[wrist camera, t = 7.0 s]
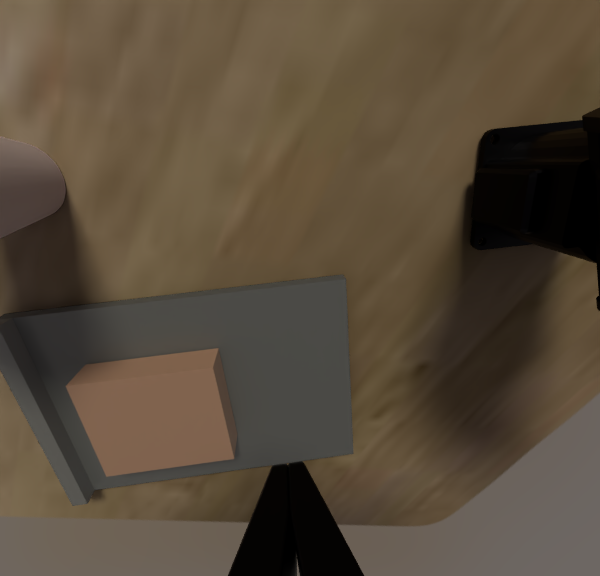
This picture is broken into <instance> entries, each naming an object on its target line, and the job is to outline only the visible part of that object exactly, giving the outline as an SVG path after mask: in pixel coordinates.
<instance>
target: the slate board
mask: <svg viewBox="0 0 600 576" xmlns="http://www.w3.org/2000/svg"><path fill="white" fill-rule="evenodd" d="M215 348H219V353H220V357H221V362H222V366H223V371H224V375H225V380H226V384H227V389H228V394H229V398H230V403H231V407H232V412H233V416H234V421H235V425H236V430H237V441H236V449H235V457H234V459H230V460H223V461H216V462H208V463H201V464H194V465H187V466H180V467H173V468H165V469H158V470H151V471H144V472H137V473H130V474H122V475H115V476H108V477H106V475H105V473H104V470H103V468H102V466H101V464H100V461H99V459H98V457H97V455H96V453H95V450H94V448H93V446H92V444H91V441H90V439H89V437H88V435H87V433H86V430H85V428H84V426H83V424H82V422H81V419H80V417H79V415H78V413H77V410H76V408H75V406H74V404H73V402H72V399H71V397H70V395H69V393H68V391H67V388H66V385H67V384H68V383H69V382H70V381H71V380H72V379H73V378H74V376H75V375H76V374H77V373H78V372H79V371H80V370H81V369H82V368H83V367H84V366H85V365H86V364H94V363H103V362H111V361H119V360H127V359H135V358H143V357H151V356H159V355H167V354H175V353H183V352H191V351H199V350H207V349H215ZM0 370H1V372H2V374H3V376H4V378H5V380H6V382H7V383H8V385H9V387H10V389H11V391H12V393H13V395H14V397H15V398H16V400H17V402H18V404H19V406H20V408H21V410H22V412H23V413H24V415H25V417H26V419H27V421H28V423H29V425H30V427H31V428H32V430H33V432H34V434H35V436H36V438H37V440H38V442H39V443H40V445H41V447H42V449H43V451H44V453H45V455H46V457H47V459H48V460H49V462H50V464H51V466H52V468H53V470H54V472H55V474H56V475H57V477H58V479H59V481H60V483H61V485H62V487H63V489H64V490H65V492H66V494H67V496H68V498H69V500H70V502H71V504H72V505H73V506H75V505H82V504H87V503H88V502H89V500H90V498H91V496H92V494H93V492H94V491H95V490H98V489H106V488H113V487H120V486H127V485H134V484H141V483H148V482H155V481H162V480H169V479H177V478H184V477H191V476H198V475H205V474H212V473H219V472H226V471H233V470H240V469H248V468H255V467H262V466H269V465H276V464H283V463H290V462H297V461H304V460H311V459H319V458H326V457H333V456H340V455H347V454H353V434H352V411H351V387H350V364H349V340H348V316H347V293H346V278H345V277H344V275H335V276H326V277H318V278H309V279H300V280H292V281H283V282H275V283H266V284H258V285H249V286H240V287H232V288H223V289H215V290H206V291H198V292H189V293H180V294H172V295H163V296H155V297H146V298H138V299H129V300H120V301H112V302H103V303H95V304H86V305H78V306H69V307H60V308H52V309H43V310H35V311H26V312H17V313H9V314H4V315H2V316H0Z"/></svg>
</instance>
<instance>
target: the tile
mask: <svg viewBox="0 0 600 576" xmlns="http://www.w3.org/2000/svg"><path fill="white" fill-rule="evenodd" d="M66 388H67V391H68V393H69V395H70V397H71V399H72V402H73V404H74V406H75V408H76V410H77V413H78V415H79V417H80V419H81V422H82V424H83V426H84V428H85V430H86V433H87V435H88V437H89V439H90V441H91V444H92V446H93V448H94V450H95V453H96V455H97V457H98V459H99V461H100V464H101V466H102V468H103V470H104V473H105V475H106V477H108V476H115V475H122V474H130V473H137V472H144V471H151V470H158V469H165V468H173V467H180V466H187V465H194V464H201V463H208V462H216V461H223V460H230V459H234V457H235V449H236V441H237V430H236V425H235V421H234V416H233V412H232V407H231V403H230V398H229V394H228V389H227V384H226V380H225V375H224V371H223V366H222V362H221V357H220V353H219V348H215V349H207V350H199V351H191V352H183V353H175V354H167V355H159V356H151V357H143V358H135V359H127V360H119V361H111V362H103V363H94V364H86V365H85V366H84V367H83V368H82V369H81V370H80V371H79V372H78V373H77V374H76V375H75V376H74V378H73V379H72V380H71V381H70V382H69V383H68V384H67V385H66Z"/></svg>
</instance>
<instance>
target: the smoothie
mask: <svg viewBox="0 0 600 576" xmlns="http://www.w3.org/2000/svg"><path fill="white" fill-rule="evenodd" d="M65 194H66V186H65V181H64V178H63V175H62V173H61V171H60V169H59V167H58V166H57V164H56V163H55V162H54V161H53V160H52V158H51V157H50V156H48V155H47V154H46V153H45V152H43V151H42V150H40V149H39V148H37V147H35V146H33V145H31V144H28V143H24V142H20V141H16V140H13V139H9V138H5V137H1V136H0V238H3V237H5V236H7V235H9V234H11V233H13V232H15V231H18V230H20V229H22V228H24V227H26V226H28V225H30V224H32V223H35V222H37V221H39V220H41V219H43V218H45V217H47V216H50V215H52V214H53V213H55V212H56V211H57V210H58V209H59V208H60V207H61V206H62V204H63V202H64V199H65Z"/></svg>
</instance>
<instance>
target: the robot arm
mask: <svg viewBox="0 0 600 576" xmlns="http://www.w3.org/2000/svg"><path fill="white" fill-rule="evenodd" d="M582 119H583V120H579V121H569V122H559V123H549V124H539V125H529V126H519V127H509V128H499V129H491V130H488V131H487V132H485V133H484V135H483V136H482V139H481V147H480V156H479V165H478V172H477V173H476V178H475V187H474V197H473V206H472V218H473V221H472V231H471V240H470V242H471V246H472V247H474V248H476V249H478V250H486V249H494V248H503V247H512V246H520V245H529V244H535V245H538V246H542V247H545V248H548V249H551V250H555V251H558V252H561V253H564V254H567V255H571V256H574V257H577V258H580V259H584V260H587V261H590V262H593V263H596V264H597V274H598V288H599V296H598V297H597V298H596V301H597V309H598V310H599V311H600V108H598V109H596V110H593V111H591V112H589V113H587V114H585V115H583V116H582ZM493 135H494V137H495V140H494V142H493V144H491V142H490V139H491V137H492V136H493ZM481 238H482V239H483V240H482V242H481V243H480V244H478V242H479V240H480V239H481ZM296 554H297V556H296ZM297 560H298V567H299V573H300V576H364V574H363V573H362V571H361V569H360V567H359V565H358V563H357V561H356V559H355V558H354V556H353V554H352V552H351V550H350V548H349V546H348V545H347V543H346V541H345V539H344V537H343V535H342V533H341V531H340V529H339V528H338V526H337V524H336V522H335V520H334V518H333V516H332V514H331V513H330V511H329V509H328V507H327V505H326V503H325V501H324V499H323V498H322V496H321V494H320V492H319V490H318V488H317V486H316V484H315V483H314V481H313V479H312V477H311V475H310V473H309V471H308V469H307V468H306V466H305V464H304V463H303V462H302V461H299V462H292V463H289V464H288V465H287V464H278V465H273V466H272V468H271V470H270V472H269V475H268V477H267V480H266V482H265V485H264V487H263V489H262V492H261V494H260V497H259V499H258V502H257V504H256V507H255V509H254V512H253V514H252V517H251V519H250V522H249V524H248V527H247V529H246V532H245V534H244V537H243V539H242V542H241V544H240V547H239V550H238V552H237V554H236V557H235V559H234V562H233V564H232V567H231V570H230V572H229V574H228V576H297Z"/></svg>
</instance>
